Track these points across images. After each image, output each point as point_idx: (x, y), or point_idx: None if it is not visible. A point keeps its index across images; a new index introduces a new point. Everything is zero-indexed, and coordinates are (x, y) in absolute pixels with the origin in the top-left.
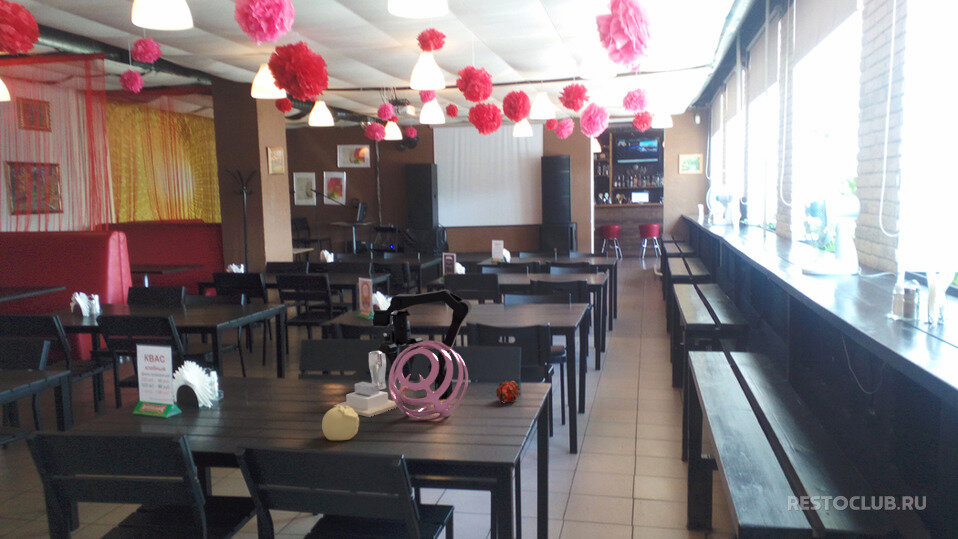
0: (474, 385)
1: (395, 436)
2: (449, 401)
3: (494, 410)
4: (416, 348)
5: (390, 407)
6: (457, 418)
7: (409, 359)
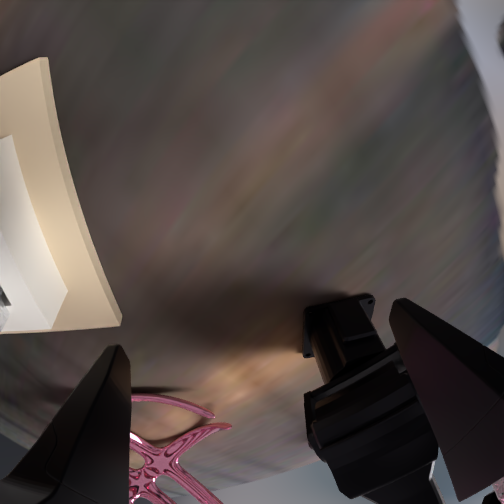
0: (477, 286)
1: (38, 429)
2: (159, 499)
3: (289, 446)
4: (458, 484)
5: (62, 328)
6: (194, 447)
7: (418, 333)
